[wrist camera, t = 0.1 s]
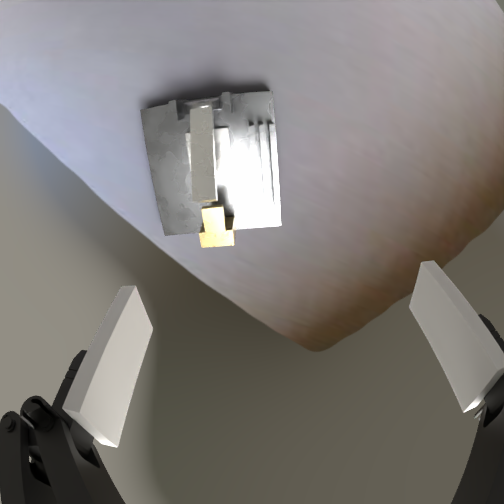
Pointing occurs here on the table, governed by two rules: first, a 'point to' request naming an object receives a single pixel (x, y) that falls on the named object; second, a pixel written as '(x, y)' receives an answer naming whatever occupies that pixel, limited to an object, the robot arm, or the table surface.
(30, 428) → the robot arm
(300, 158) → the table surface
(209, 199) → the strap
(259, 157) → the heatsink base
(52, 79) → the table surface
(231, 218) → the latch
